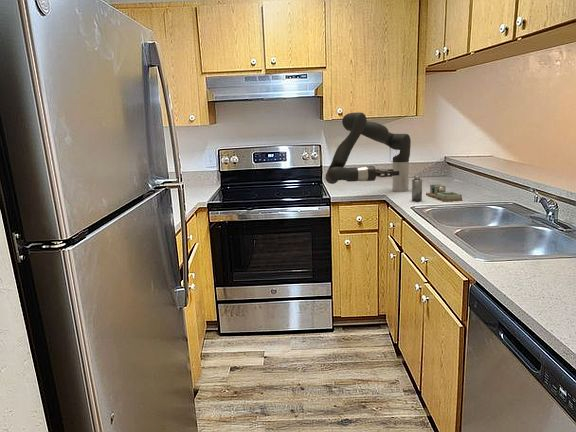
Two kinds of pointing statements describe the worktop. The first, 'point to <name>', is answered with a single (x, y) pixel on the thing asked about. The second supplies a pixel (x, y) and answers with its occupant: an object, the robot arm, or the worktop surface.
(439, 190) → the shaft and pillow blocks
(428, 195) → the base board
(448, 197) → the hub seat
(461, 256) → the worktop surface
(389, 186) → the worktop surface
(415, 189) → the grey bottle
